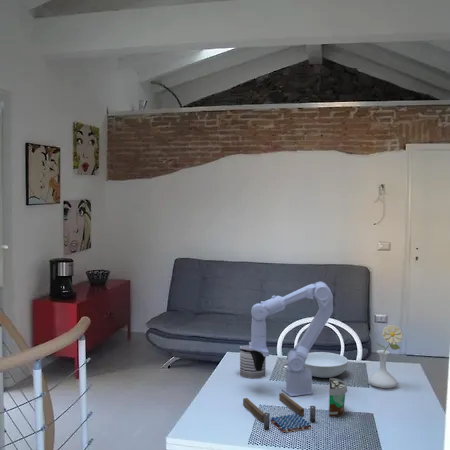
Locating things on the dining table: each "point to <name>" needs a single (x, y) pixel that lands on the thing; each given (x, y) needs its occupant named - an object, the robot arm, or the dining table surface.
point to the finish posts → (267, 417)
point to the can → (249, 365)
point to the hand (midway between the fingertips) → (258, 369)
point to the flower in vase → (382, 375)
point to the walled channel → (282, 398)
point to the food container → (336, 397)
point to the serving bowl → (325, 364)
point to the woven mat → (290, 423)
